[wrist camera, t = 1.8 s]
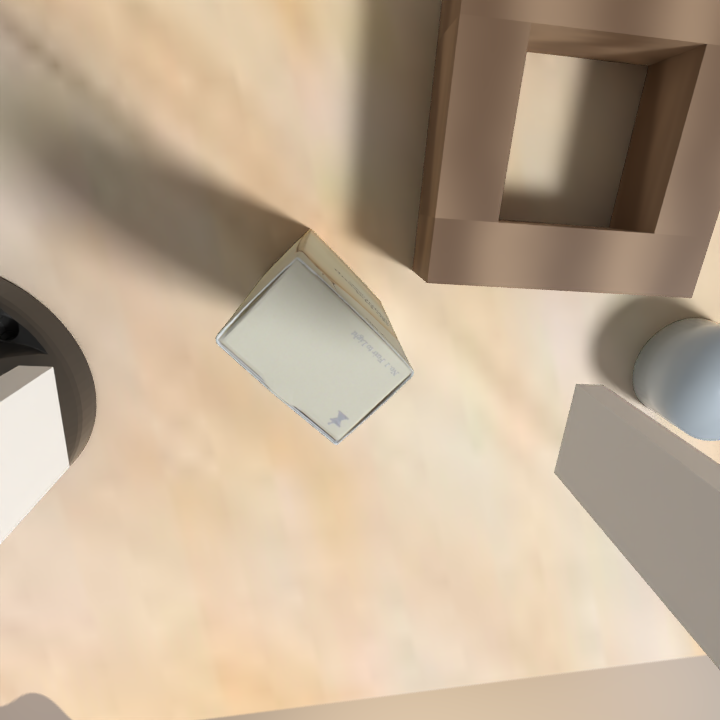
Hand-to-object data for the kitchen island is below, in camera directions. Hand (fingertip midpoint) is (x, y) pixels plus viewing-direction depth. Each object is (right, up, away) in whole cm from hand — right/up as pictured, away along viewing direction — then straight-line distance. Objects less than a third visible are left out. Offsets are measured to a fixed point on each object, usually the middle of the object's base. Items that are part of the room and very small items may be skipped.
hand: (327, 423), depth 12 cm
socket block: (+12, +14, +14) cm, 23 cm away
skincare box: (-2, +6, +16) cm, 17 cm away
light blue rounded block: (+23, +1, +20) cm, 30 cm away
